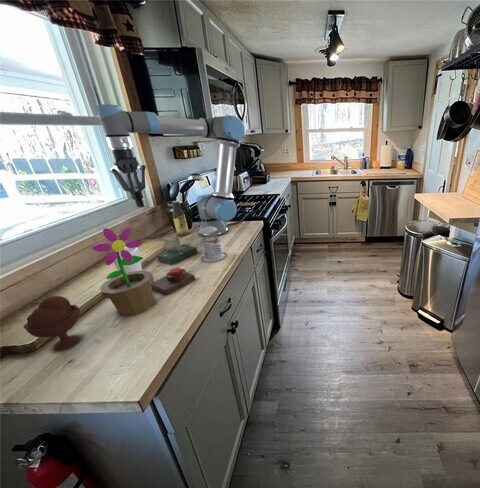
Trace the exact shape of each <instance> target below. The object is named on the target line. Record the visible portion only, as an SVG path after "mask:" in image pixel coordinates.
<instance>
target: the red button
mask: <svg viewBox="0 0 480 488" xmlns="http://www.w3.org/2000/svg"><path fill="white" fill-rule="evenodd" d="M181 269H182V268H181V267H174V268H171V269H169V271H168V272H170V275H171V276H176V275H179V274H181V273H182V271H181Z"/></svg>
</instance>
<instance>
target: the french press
mask: <svg viewBox="0 0 480 488" xmlns="http://www.w3.org/2000/svg"><path fill="white" fill-rule="evenodd" d="M203 209H205V207H201V210H203ZM203 212H204V210H203ZM204 217H205V214H204ZM205 221H206V219H205ZM206 225H207V223H206ZM215 231H217V228H215V227H211V226H209V227H204V228H202V229H201V230H200V229H199V230H198V234H199V236H198V237H197V240H196V242H198V241H199V242H198V243H199V244H196V248H197V250H199V251H201V252H203V255H204V257H203V258H202V260H203V261H204V262H208V263H209V262H210V263H211V262H217V261H218V262H219V261H220V260H222V259H223V258H225V257H226V255H225V253H223V251H222V246H221V241H220V239H219V237H218V236H208V237H205V236H202V235H201V234H210V233H213V232H215Z"/></svg>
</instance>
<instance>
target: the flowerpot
mask: <svg viewBox="0 0 480 488" xmlns="http://www.w3.org/2000/svg"><path fill="white" fill-rule="evenodd" d="M102 231H103V236H104V237H105V239H106V240H107V241H109V242H112V243H111V244H110V243H108V242H101V243H97V244H95V245H93V246H92V247H91V249H92V251H96V252H98V253H99V252H101V253H102V252H108V251H110V250H111V251H112V252H111V251H110V252H108V254H107V255H106V256H105V259H104V264H105V265H106V266H111V265H112V264H114V263H113V262H114V261H115V260H116V258H117V261H118V264H119V267H120V269H121V270H118V269H117V270H114V271H111V272H110V273H109V274H108V275H107V276H106V277H105V278H106V281H104V283H102V285H101V286H100V287H99V289H100V292H101V294H102V297H103V298H104V299H109V300H110V301H111V303H112V304H113V306H114V307H115V309H116V310H117V312H118V314H119V315H120V316H124V317H128V316H134V315H138V314H140V313H142V312H145V311H147V310H148V309H150V308H151V307H152V306H153V304H154V303H155V299H154V293H153V289H152V287H151V284H152V282H154V281H155V278H154V276H153V274H152V273H151V272H150V271H149V270H142V271H133V272H128V273H125V270H124V267H123V265H132V264H135V263H137V262H139V261H140V260H143V256H140V257H139V256H135V255H134V256H132V255H131V254H130V252H129V251H127V250H124V248H125V247H128V248H137V247H138V248H139V247H140V246H142V241H139V240H135V239H134V240H128V239H129V238H130V236H131V235H132V228H131V227H129V226H127V227H125V228H123V229H122V230H121V232H120V233H119V239H118V238H117V235H116V233H115V232H114V231H113V230H111V229H109V228H108V227H105V228H103V230H102ZM126 240H128V241H127V242H126ZM119 251H120V254H119ZM120 255H121V257H122V258H123V259H122V260H121V258H120Z"/></svg>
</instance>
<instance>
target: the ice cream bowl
mask: <svg viewBox="0 0 480 488" xmlns="http://www.w3.org/2000/svg"><path fill="white" fill-rule="evenodd" d="M80 317H81V309H80V307H78V305H76V304H71V302H70V300H69V299H67V298H66V297H64V296H61V295H53V296H48V297H46V298H44V299H42V301H40V303H39V304H38V307H36V308H34V310H33V311H32V312H31V313H30V314H29V315H28V316H27V318H26V323H25V324H24V325H23V328H24V329H25V331H26V332H27V333H29V334H30V335H31V336H33V337H35V338H52V337H58V338H59V341H57V342H56V343H55V345H54V346H53V349H54V350H55V351H57V352H58V351H64V350H67V349H70V348H72V347H73V346H75V345H76V344H78V343H79V341H80V340H81V338H80V337H79V335H68V332H69V331H70V330H71V329H72V328H73V327H74V326H75V325H76V323H77V322H78V320H79V319H80Z"/></svg>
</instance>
